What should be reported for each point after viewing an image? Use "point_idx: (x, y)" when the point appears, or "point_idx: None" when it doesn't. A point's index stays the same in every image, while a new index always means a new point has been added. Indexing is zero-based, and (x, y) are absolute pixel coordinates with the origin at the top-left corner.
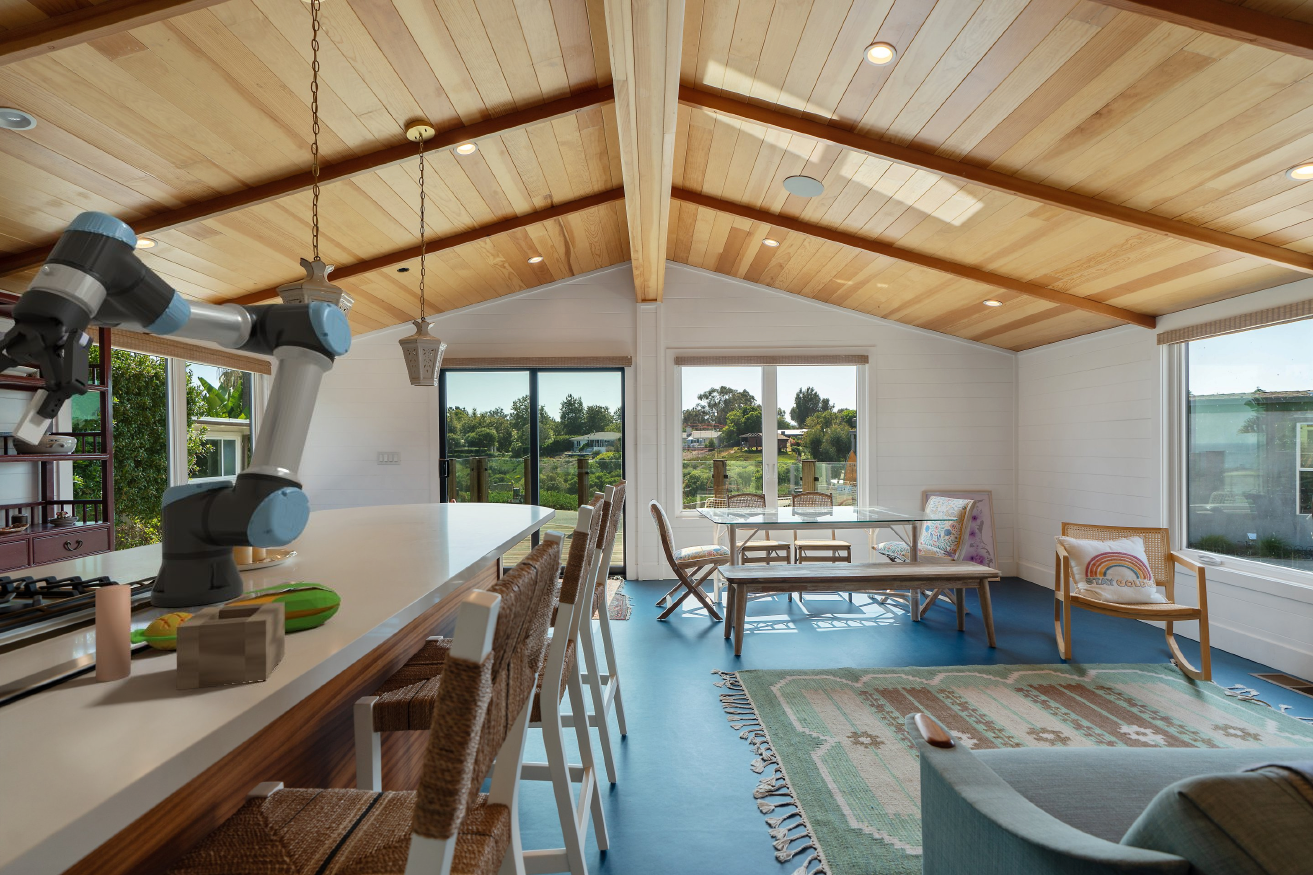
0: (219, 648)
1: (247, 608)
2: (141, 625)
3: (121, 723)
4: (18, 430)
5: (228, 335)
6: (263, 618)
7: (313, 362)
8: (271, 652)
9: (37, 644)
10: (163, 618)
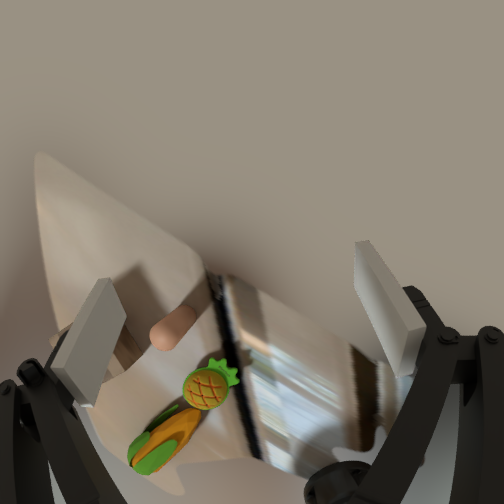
0: None
1: None
2: (309, 423)
3: (94, 247)
4: (97, 285)
5: None
6: (53, 344)
7: None
8: None
9: (347, 361)
10: (203, 386)
